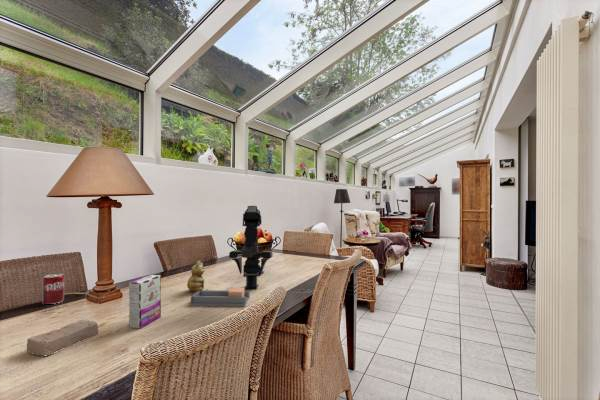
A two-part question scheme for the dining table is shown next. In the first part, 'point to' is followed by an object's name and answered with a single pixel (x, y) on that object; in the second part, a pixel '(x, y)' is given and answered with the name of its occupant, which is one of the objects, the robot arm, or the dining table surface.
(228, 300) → the grey tray
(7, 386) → the dining table surface
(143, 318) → the candy bar box
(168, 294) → the dining table surface
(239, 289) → the block
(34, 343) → the brick
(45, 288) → the soda can
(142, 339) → the dining table surface
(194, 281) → the decorative figurine
